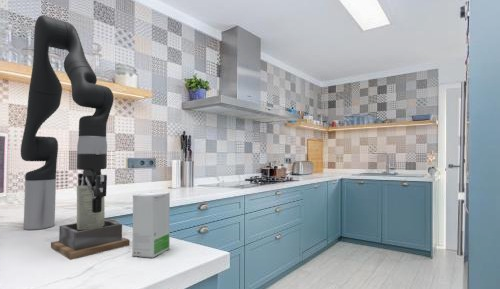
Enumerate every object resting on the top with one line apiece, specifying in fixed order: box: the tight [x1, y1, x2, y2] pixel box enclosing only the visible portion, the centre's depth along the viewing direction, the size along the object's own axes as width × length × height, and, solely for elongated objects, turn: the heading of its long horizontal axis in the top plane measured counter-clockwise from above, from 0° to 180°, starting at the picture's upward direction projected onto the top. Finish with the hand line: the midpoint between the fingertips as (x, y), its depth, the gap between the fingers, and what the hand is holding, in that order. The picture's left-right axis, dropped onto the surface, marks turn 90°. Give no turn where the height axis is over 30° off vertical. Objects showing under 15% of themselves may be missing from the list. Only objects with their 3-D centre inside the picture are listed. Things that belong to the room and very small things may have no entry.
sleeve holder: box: [50, 218, 130, 260], centre depth 81 cm, size 15×15×6 cm
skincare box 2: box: [131, 191, 171, 259], centre depth 76 cm, size 8×7×16 cm
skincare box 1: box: [76, 185, 106, 230], centre depth 82 cm, size 6×4×12 cm
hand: (91, 210), depth 82 cm, fingers closed on skincare box 1, 7 cm apart
